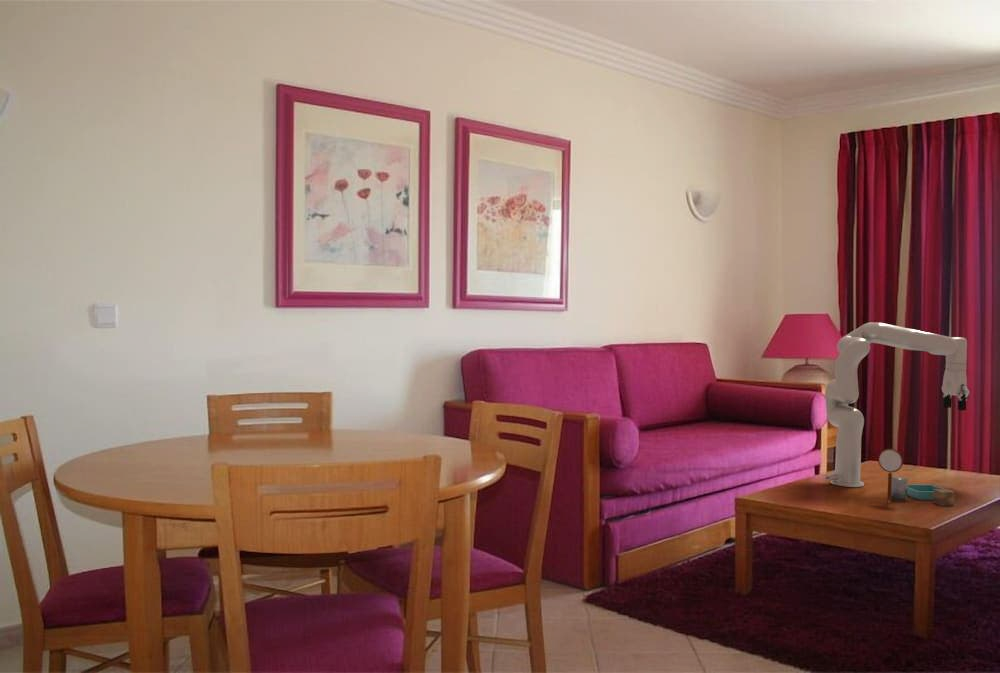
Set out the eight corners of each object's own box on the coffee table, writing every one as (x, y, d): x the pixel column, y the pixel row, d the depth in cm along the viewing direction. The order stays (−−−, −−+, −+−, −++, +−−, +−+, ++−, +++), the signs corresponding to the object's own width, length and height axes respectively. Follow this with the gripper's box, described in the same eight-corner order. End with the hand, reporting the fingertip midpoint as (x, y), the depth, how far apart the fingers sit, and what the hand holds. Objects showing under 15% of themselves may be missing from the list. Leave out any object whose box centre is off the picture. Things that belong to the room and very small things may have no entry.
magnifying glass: (902, 504, 326) (903, 450, 325) (900, 505, 325) (902, 450, 324) (877, 500, 332) (879, 447, 331) (876, 501, 330) (877, 447, 330)
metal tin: (895, 501, 332) (895, 479, 331) (886, 497, 338) (887, 476, 337) (910, 501, 332) (911, 479, 332) (901, 497, 338) (902, 476, 338)
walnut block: (941, 505, 325) (941, 492, 325) (933, 502, 330) (933, 489, 330) (954, 505, 326) (954, 492, 326) (946, 502, 331) (946, 489, 331)
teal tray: (917, 499, 335) (918, 491, 335) (898, 492, 348) (898, 484, 348) (952, 499, 336) (952, 491, 336) (931, 492, 350) (931, 484, 349)
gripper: (934, 365, 373) (933, 406, 374) (960, 368, 356) (958, 411, 356) (951, 366, 374) (950, 406, 374) (977, 368, 357) (976, 411, 357)
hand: (954, 408), depth 365 cm, fingers open, 9 cm apart
